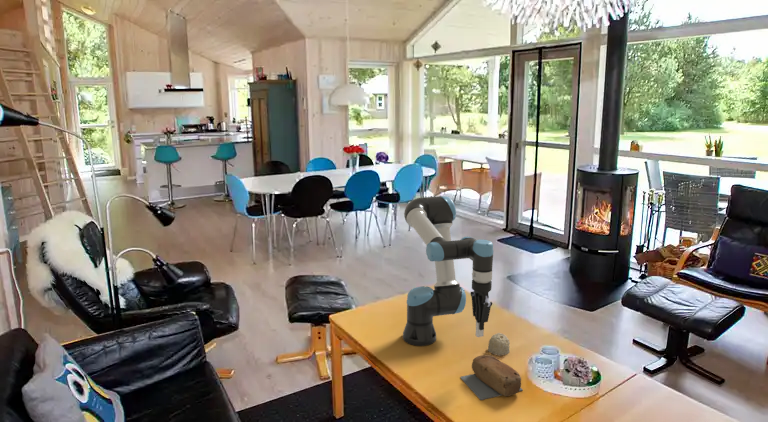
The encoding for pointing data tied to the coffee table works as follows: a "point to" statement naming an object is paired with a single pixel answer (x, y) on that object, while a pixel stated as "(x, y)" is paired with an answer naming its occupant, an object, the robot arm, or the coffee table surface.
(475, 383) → the mat
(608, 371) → the coffee table surface
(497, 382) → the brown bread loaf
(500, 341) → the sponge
